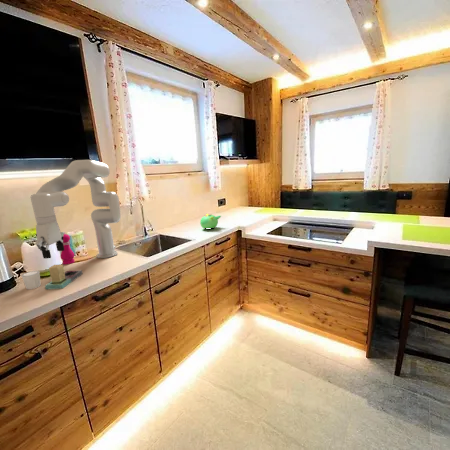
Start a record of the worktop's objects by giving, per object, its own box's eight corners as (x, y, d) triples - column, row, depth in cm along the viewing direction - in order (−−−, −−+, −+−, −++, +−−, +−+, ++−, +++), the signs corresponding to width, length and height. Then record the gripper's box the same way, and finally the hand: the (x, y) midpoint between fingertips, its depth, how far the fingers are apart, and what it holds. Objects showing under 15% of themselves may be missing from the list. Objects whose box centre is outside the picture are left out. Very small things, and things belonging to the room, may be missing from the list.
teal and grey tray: (67, 274, 128) (67, 271, 127) (82, 273, 128) (81, 270, 128) (45, 289, 111) (44, 285, 111) (62, 288, 112) (61, 284, 111)
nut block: (58, 283, 117) (54, 264, 115) (66, 282, 117) (62, 264, 115) (52, 287, 113) (48, 267, 111) (61, 286, 114) (57, 267, 111)
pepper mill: (77, 260, 150) (71, 230, 146) (72, 264, 143) (66, 232, 139) (65, 261, 149) (59, 231, 145) (59, 265, 142) (53, 233, 138)
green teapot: (207, 226, 232) (206, 212, 229) (222, 227, 225) (221, 212, 222) (197, 230, 216) (196, 215, 213) (213, 232, 209) (212, 216, 206)
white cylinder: (22, 288, 114) (18, 274, 112) (38, 282, 119) (35, 269, 118) (27, 291, 110) (24, 277, 109) (44, 285, 116) (41, 272, 114)
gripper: (50, 216, 117) (58, 248, 121) (23, 224, 100) (33, 261, 104) (66, 215, 117) (73, 247, 121) (41, 224, 100) (50, 260, 104)
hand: (54, 254), depth 113 cm, fingers open, 9 cm apart
